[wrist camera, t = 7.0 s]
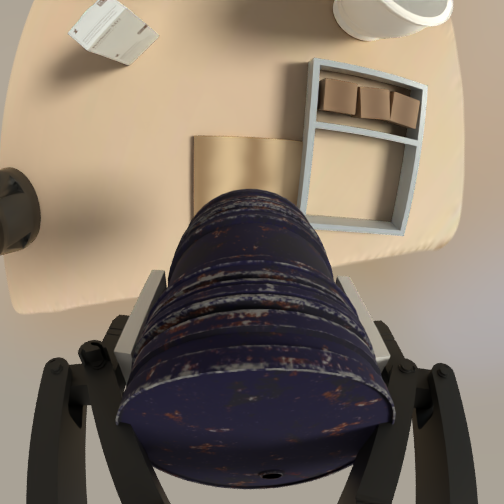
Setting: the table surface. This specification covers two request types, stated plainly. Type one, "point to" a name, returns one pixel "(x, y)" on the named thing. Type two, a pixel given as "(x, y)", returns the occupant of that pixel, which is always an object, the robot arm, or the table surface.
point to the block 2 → (372, 103)
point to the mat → (245, 166)
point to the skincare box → (113, 32)
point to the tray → (411, 141)
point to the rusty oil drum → (253, 355)
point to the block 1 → (337, 96)
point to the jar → (389, 17)
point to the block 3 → (403, 110)
